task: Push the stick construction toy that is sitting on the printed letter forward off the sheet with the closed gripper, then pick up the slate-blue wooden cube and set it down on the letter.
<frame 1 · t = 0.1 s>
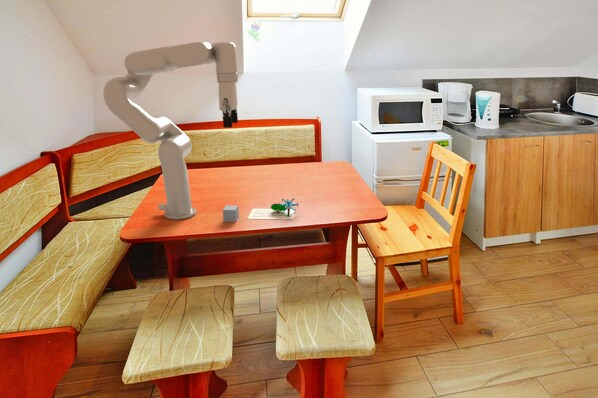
hand: (230, 125, 159), 37 cm above the table, tool pointing down, fingers open, 9 cm apart
stick construction toy: (284, 213, 172), resting on letter
cube: (231, 219, 168), on the table
letter: (272, 213, 172), on the table
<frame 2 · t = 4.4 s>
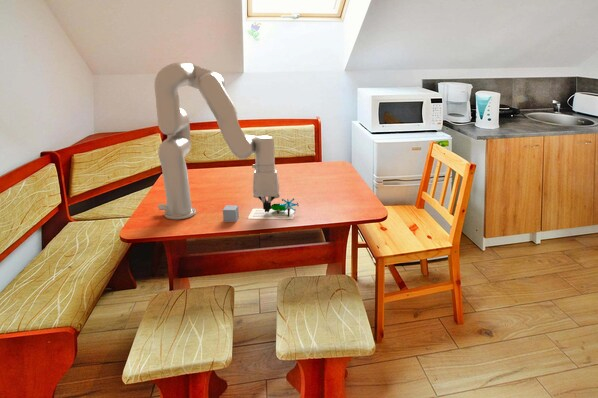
hand: (267, 210, 172), 1 cm above the table, tool pointing down, fingers closed
stick construction toy: (284, 213, 172), resting on letter, touching gripper
everything else where it was.
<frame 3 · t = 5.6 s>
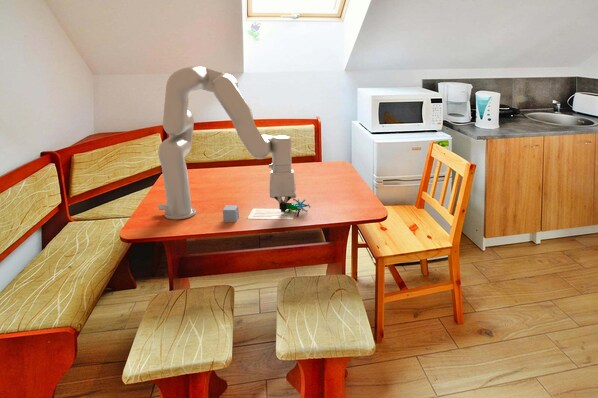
hand: (283, 211, 172), 1 cm above the table, tool pointing down, fingers closed
stick construction toy: (295, 213, 172), on the table, touching gripper, letter
everything else where it was.
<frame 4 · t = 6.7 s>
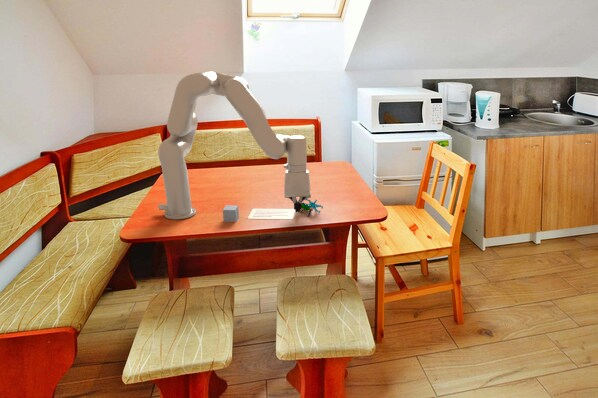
hand: (297, 211, 171), 1 cm above the table, tool pointing down, fingers closed
stick construction toy: (308, 213, 172), on the table, touching gripper
everything else where it was.
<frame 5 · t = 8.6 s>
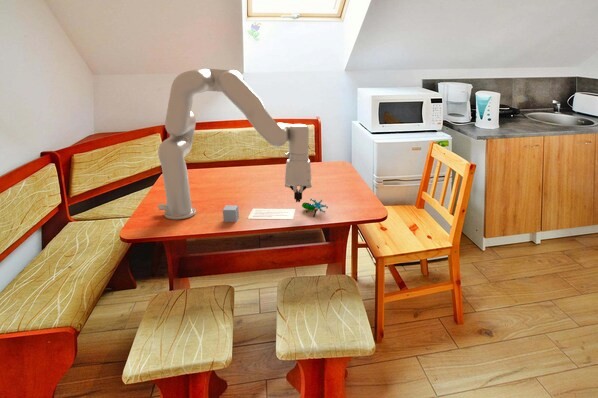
hand: (298, 200, 170), 6 cm above the table, tool pointing down, fingers closed
stick construction toy: (312, 213, 172), on the table
everything else where it was.
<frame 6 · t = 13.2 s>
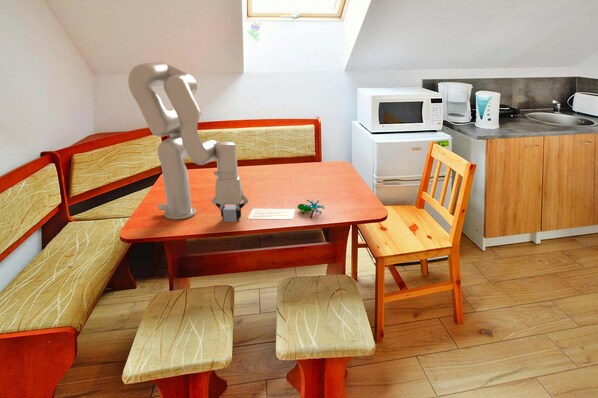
hand: (231, 218, 168), 0 cm above the table, tool pointing down, fingers closed on cube, 5 cm apart
stick construction toy: (309, 215, 171), on the table
cube: (231, 219, 168), on the table, touching gripper
when the fingers open (2 cm above the table, at t = 17.9 s): cube drops 1 cm, resting on letter.
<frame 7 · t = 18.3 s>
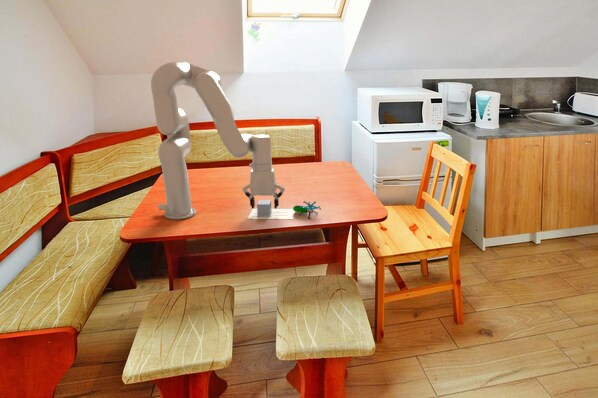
hand: (264, 207, 171), 3 cm above the table, tool pointing down, fingers open, 9 cm apart
stick construction toy: (305, 216, 170), on the table
cube: (264, 213, 172), resting on letter
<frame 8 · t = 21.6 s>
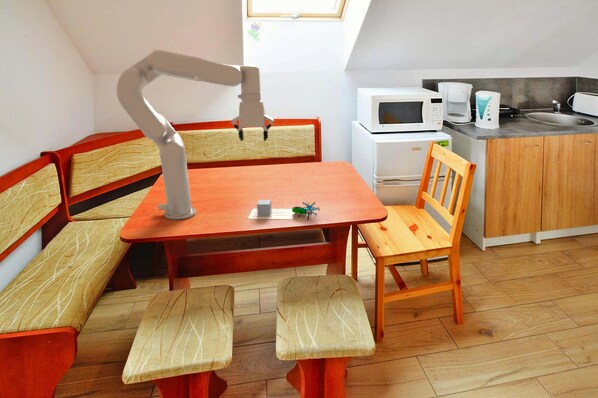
hand: (253, 140, 173), 28 cm above the table, tool pointing down, fingers open, 9 cm apart
stick construction toy: (305, 217, 169), on the table
everything else where it was.
at the end: cube inside the target area on the letter (3.1 cm from its centre), point 0.1 cm above the letter's base; cube tilted 0°; stick construction toy inside the target area on the table beside the letter (14.1 cm from its centre), on the table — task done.
